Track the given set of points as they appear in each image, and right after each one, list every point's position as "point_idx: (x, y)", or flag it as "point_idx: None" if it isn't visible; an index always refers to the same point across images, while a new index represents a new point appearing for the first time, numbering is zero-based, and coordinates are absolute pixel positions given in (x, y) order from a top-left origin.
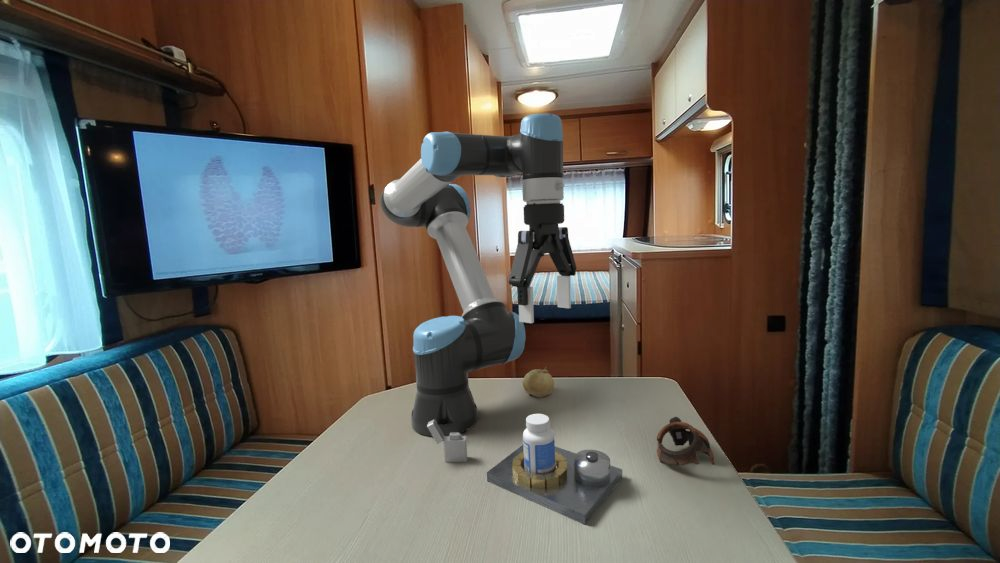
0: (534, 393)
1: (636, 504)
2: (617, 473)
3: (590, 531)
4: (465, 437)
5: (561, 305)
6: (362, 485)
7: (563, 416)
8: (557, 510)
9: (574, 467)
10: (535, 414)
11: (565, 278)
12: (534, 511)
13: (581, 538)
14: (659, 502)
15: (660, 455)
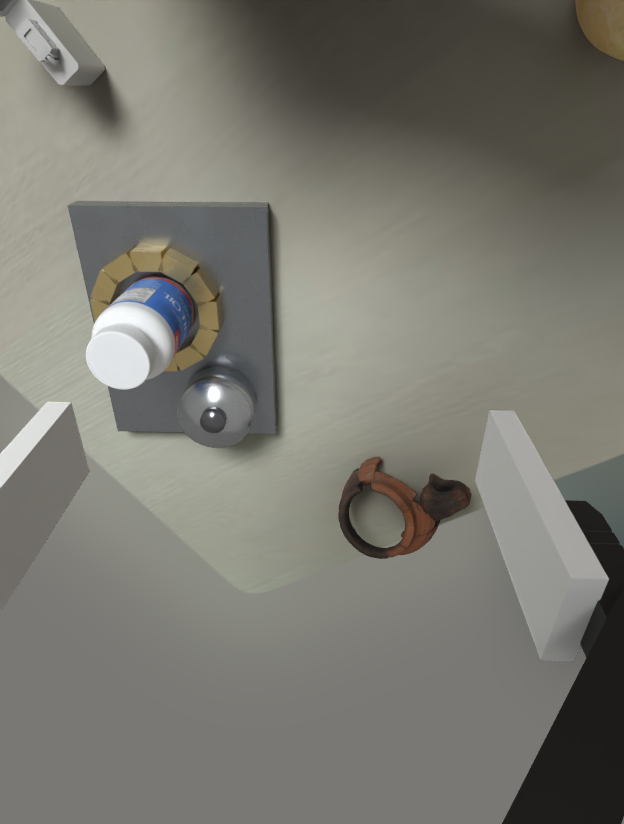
0: (575, 2)
1: (223, 462)
2: (256, 431)
3: (118, 432)
4: (73, 71)
5: (487, 444)
6: None
7: (472, 189)
8: None
9: (191, 383)
10: (132, 344)
11: (542, 626)
12: (85, 341)
13: (96, 427)
14: (250, 486)
15: (356, 475)
